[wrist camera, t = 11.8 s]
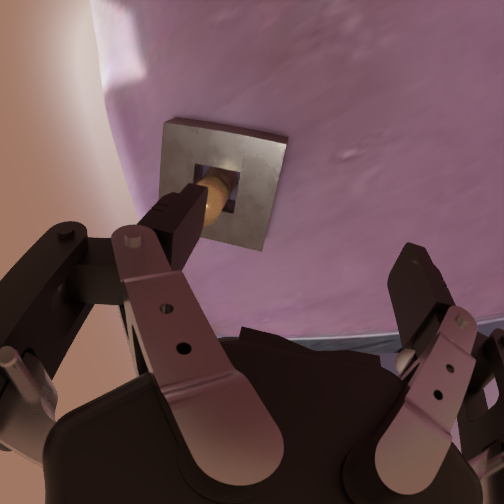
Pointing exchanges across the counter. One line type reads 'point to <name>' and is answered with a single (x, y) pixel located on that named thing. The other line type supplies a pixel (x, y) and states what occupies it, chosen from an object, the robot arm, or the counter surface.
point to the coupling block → (231, 158)
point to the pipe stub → (217, 191)
